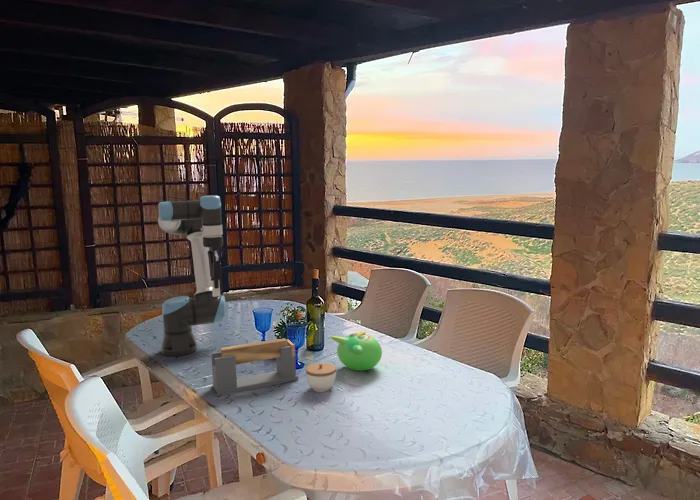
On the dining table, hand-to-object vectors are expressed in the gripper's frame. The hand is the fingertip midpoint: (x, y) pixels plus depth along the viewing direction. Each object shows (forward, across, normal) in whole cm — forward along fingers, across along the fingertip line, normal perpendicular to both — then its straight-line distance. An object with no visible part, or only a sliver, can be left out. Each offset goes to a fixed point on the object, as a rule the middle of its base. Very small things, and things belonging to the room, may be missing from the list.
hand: (216, 295), depth 215 cm
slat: (+20, +22, +9) cm, 31 cm away
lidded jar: (+30, +38, +28) cm, 56 cm away
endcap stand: (+29, +22, +9) cm, 38 cm away
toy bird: (+30, +27, +48) cm, 63 cm away
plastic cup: (+30, -8, +30) cm, 43 cm away
